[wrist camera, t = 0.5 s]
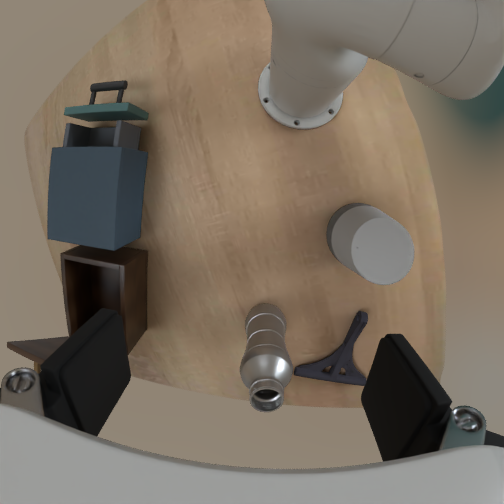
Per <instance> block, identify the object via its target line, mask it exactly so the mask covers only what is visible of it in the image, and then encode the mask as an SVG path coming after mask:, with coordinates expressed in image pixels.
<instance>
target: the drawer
mask: <svg viewBox="0 0 504 504" xmlns="http://www.w3.org/2000/svg"><path fill="white" fill-rule="evenodd" d="M127 85H128V84H127V81H113V82H103V83H95V84H92V85H91V87H90V90H91V92H92V94H91V98H90V103H89V105H83V106H74V107H66V108H65V112H64V115H66V116H70V117H73V118H77V119H81V120H85V121H88V122H92V121H117V120H148V114H149V113H147V112H146V111H144V110H142V109H140V108H138V107H136V106H135V105H133V104H131V103H129V102H127V103H121V102H122V97H123V92H124V90H125V89H126V88H127ZM111 90H119V92H118V97H117V102H116V103H108V104H94V102H95V97H96V92H100V91H111ZM140 133H141V128H140V127H137V126H135V125H132V124H129V123H127V122H124V121H117V124H116V127H108V128H88V127H84V126H80V125H76V124H72V123H67V124H66V129H65V135H64V142H63V147H125V148H130V149H135V150H138V146H139V139H140Z"/></svg>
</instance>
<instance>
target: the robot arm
mask: <svg viewBox="0 0 504 504" xmlns="http://www.w3.org/2000/svg"><path fill="white" fill-rule="evenodd" d="M264 1H265V4H266V7H267V10H268V12H269V15H270V17H271V21H272V45H271V61H270V63H269V64H268V65H267V66H266V67H265V68H264V70H263V71H262V73H261V75H260V79H259V82H258V93H259V98H260V101H261V104H262V106H263V107H264V109H265V110H266V112H267V113H268V114H269V115H270V116H271V117H272V118H273V119H274V120H276V121H277V122H279V123H280V124H282V125H285V126H287V127H290V128H294V129H303V130H307V129H314V128H317V127H320V126H322V125H324V124H326V123H327V122H329V121H330V120H331V119H332V118H333V117H334V116H335V115H336V114H337V112H338V111H339V109H340V107H341V103H342V99H343V91H344V90H345V89H346V88H347V87H348V85H349V84H350V83H351V82H352V81H353V80H354V79H355V78H356V77H357V76H358V75H359V74H360V72H361V71H362V70H363V68H364V67H365V65H366V63H367V59H368V57H369V58H371V59H376V60H378V61H380V62H382V63H384V64H386V65H388V66H390V67H392V68H394V69H396V70H399V71H400V72H402V73H404V74H406V75H408V76H410V77H412V78H413V79H416V80H417V81H419V82H421V83H422V84H424V85H426V86H428V87H430V88H431V89H433V90H435V91H437V92H439V93H440V94H442V95H445V96H447V97H450V98H453V99H457V100H467V99H471V98H474V97H476V96H478V95H479V94H481V93H482V92H484V91H485V90H486V89H487V88H488V87H489V86H490V85H491V84H492V83H493V81H494V80H495V78H496V77H497V76H498V74H499V72H500V71H501V69H502V67H503V65H504V0H264ZM266 100H267V101H268V103H265V101H266ZM329 112H331V113H332V114H329ZM295 122H297V123H298V125H295ZM40 368H41V372H40V373H39V374H38V373H37V372H36V371H35V370H32V369H30V368H17V369H14V370H12V371H10V372H8V373H7V374H6V375H5V376H4V378H3V380H2V384H1V388H0V504H504V436H501V435H499V434H496V433H493V432H490V431H487V430H486V420H485V418H484V416H483V415H482V414H481V412H479V411H478V410H477V409H475V408H473V407H470V406H458V407H456V408H454V409H453V410H452V409H451V408H450V405H451V403H452V401H451V399H450V397H449V396H448V395H447V394H446V392H445V390H444V389H443V388H442V386H441V385H440V383H439V382H438V381H437V379H436V378H435V377H434V375H433V374H432V373H431V371H430V370H429V369H428V367H427V366H426V365H425V363H424V362H423V361H422V359H421V358H420V357H419V355H418V354H417V353H416V351H415V350H414V349H413V348H412V346H411V345H410V344H409V342H408V341H407V340H406V339H405V337H404V336H403V335H402V334H387V335H386V336H385V337H384V338H381V340H380V342H379V345H378V349H377V352H376V355H375V358H374V361H373V364H372V367H371V370H370V373H369V375H368V378H367V381H366V384H365V386H364V389H363V392H362V395H361V401H362V405H363V407H364V410H365V412H366V415H367V418H368V421H369V423H370V426H371V429H372V431H373V434H374V437H375V440H376V442H377V445H378V448H379V451H380V454H381V457H382V460H383V462H378V463H371V464H363V465H355V466H345V467H334V468H317V469H266V468H265V469H264V468H247V467H236V466H225V465H217V464H210V463H202V462H196V461H190V460H184V459H179V458H174V457H169V456H164V455H160V454H155V453H151V452H147V451H143V450H139V449H136V448H132V447H128V446H125V445H121V444H118V443H114V442H112V441H109V440H106V439H103V438H99V437H97V436H98V434H99V432H100V430H101V429H102V427H103V425H104V424H105V422H106V420H107V419H108V417H109V415H110V413H111V412H112V410H113V408H114V407H115V405H116V403H117V402H118V400H119V398H120V397H121V395H122V393H123V391H124V390H125V388H126V387H127V385H128V383H129V381H130V378H131V372H130V367H129V361H128V355H127V349H126V342H125V335H124V327H123V320H122V316H121V315H119V314H118V312H117V311H116V310H110V309H105V308H102V309H100V310H99V311H98V312H97V313H96V314H95V315H94V316H92V317H91V318H90V319H89V320H88V321H87V322H86V323H85V324H84V325H83V326H81V327H80V328H79V329H78V330H77V331H76V332H75V333H74V334H73V335H72V336H71V337H69V338H68V339H67V340H66V341H65V342H64V343H63V344H62V345H61V346H60V347H59V348H58V349H57V350H56V351H55V352H54V353H53V354H51V355H50V356H49V357H48V358H47V359H46V360H45V361H44V362H43V363H42V364H41V365H40Z"/></svg>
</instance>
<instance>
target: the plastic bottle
mask: <svg viewBox="0 0 504 504" xmlns="http://www.w3.org/2000/svg"><path fill="white" fill-rule="evenodd" d="M245 330H246V334H247V345H246V350H245V353H244V355H243V358H242V361H241V365H240V375H241V378H242V381H243V383H244V384H245V385H246V387H247V388H248V389H249V395H250V404H251V406H252V407H253V408H254V409H256V410H258V411H260V412H272V411H275V410H277V409H279V408H280V407H281V406H282V404H283V401H284V388H285V387H286V386H287V385H288V383H289V382H290V379H291V377H292V373H293V365H292V361H291V359H290V356H289V354H288V352H287V349H286V344H285V332H286V319H285V316H284V314H283V313H282V311H281V310H280V309H279V308H278V307H277V306H275V305H272V304H268V303H264V304H259V305H257V306H255V307H253V308H252V309H251V310H250V312H249V313H248V315H247V317H246V320H245Z"/></svg>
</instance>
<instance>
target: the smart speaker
mask: <svg viewBox="0 0 504 504" xmlns="http://www.w3.org/2000/svg"><path fill="white" fill-rule="evenodd" d="M327 243H328V246H329V248H330V250H331V252H332V254H333V255H334V256H335V258H336V259H337V260H338V261H340V262H341V263H342V264H343V265H345V266H346V267H348V268H349V269H351V270H352V271H354V272H355V273H357V274H359V275H360V276H362V277H363V278H365V279H366V280H368V281H370V282H372V283H375V284H379V285H389V284H393V283H396V282H398V281H400V280H401V279H402V278H404V277H405V276H406V275H407V273H408V272H409V270H410V269H411V266H412V264H413V260H414V245H413V241H412V239H411V236H410V234H409V233H408V231H407V230H406V229H405V228H404V227H403V226H402V225H401V224H400V223H398V222H397V221H395V220H394V219H393V218H391V217H390V216H388V215H387V214H385V213H384V212H382V211H381V210H379V209H377V208H375V207H373V206H371V205H368V204H364V203H352V204H348V205H345V206H343V207H342V208H340V209H339V210H337V211H336V212H335V213H334V215H333V216H332V217H331V219H330V221H329V224H328V227H327Z"/></svg>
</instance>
